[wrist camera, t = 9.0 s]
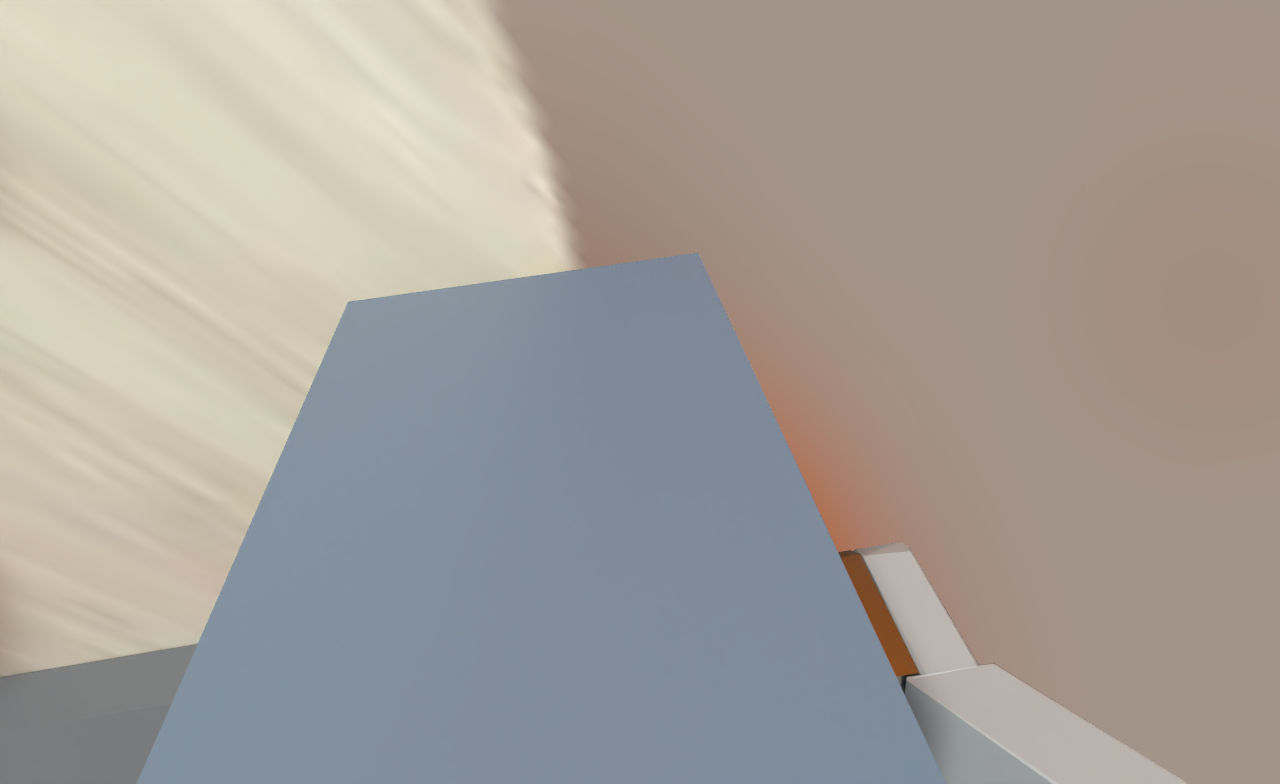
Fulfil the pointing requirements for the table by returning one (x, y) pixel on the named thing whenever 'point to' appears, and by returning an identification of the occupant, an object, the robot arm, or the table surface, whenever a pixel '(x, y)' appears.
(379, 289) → the table surface
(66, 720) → the notched board
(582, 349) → the blue-gray rectangular block
